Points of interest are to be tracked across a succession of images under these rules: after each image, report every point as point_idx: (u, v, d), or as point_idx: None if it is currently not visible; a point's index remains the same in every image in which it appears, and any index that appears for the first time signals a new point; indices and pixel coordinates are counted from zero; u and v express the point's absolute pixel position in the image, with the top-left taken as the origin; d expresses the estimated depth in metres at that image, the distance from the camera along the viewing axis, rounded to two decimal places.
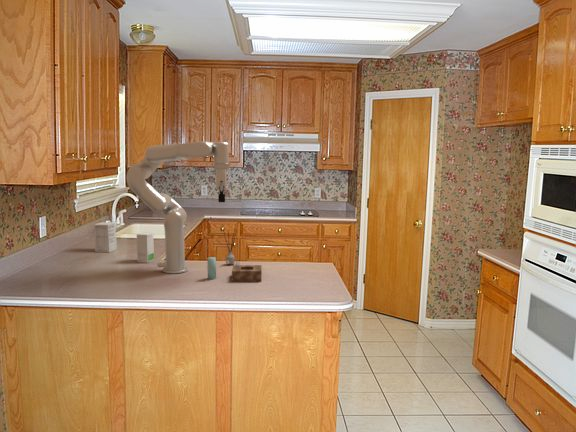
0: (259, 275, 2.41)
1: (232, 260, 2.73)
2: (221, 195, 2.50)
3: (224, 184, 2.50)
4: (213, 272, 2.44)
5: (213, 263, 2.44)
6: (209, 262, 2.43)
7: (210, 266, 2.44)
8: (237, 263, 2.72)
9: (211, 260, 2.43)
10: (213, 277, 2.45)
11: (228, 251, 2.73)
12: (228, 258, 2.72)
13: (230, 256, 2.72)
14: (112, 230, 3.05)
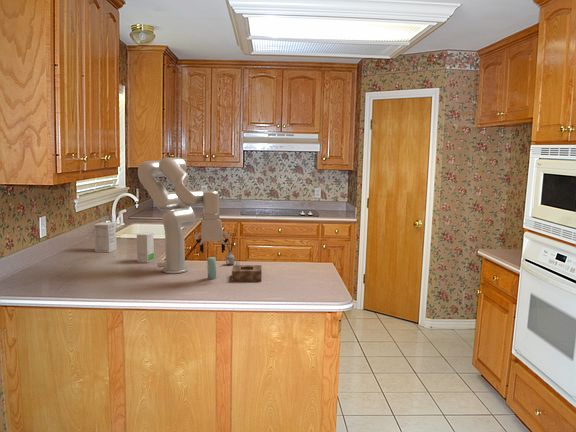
0: (259, 275, 2.41)
1: (232, 260, 2.73)
2: (224, 245, 2.44)
3: None
4: (213, 272, 2.44)
5: (213, 263, 2.44)
6: (209, 262, 2.43)
7: (210, 266, 2.44)
8: (237, 263, 2.72)
9: (211, 260, 2.43)
10: (213, 277, 2.45)
11: (228, 251, 2.73)
12: (228, 258, 2.72)
13: (230, 256, 2.72)
14: (112, 230, 3.05)
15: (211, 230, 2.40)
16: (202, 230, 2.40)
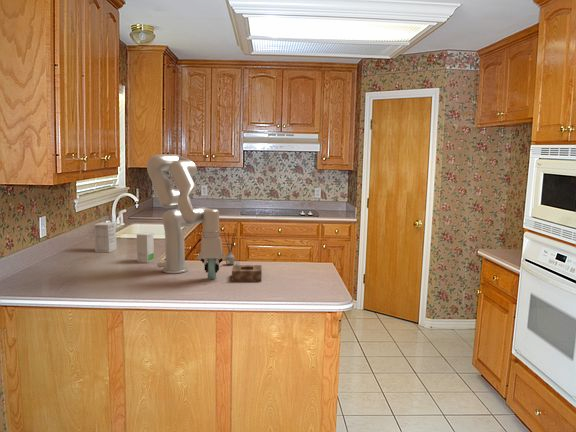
0: (259, 275, 2.41)
1: (232, 260, 2.73)
2: (218, 265, 2.45)
3: None
4: (213, 272, 2.44)
5: (213, 263, 2.44)
6: (209, 262, 2.43)
7: (210, 266, 2.44)
8: (237, 263, 2.72)
9: (211, 260, 2.43)
10: (213, 277, 2.45)
11: (228, 251, 2.73)
12: (228, 258, 2.72)
13: (230, 256, 2.72)
14: (112, 230, 3.05)
15: (211, 248, 2.41)
16: (202, 248, 2.41)
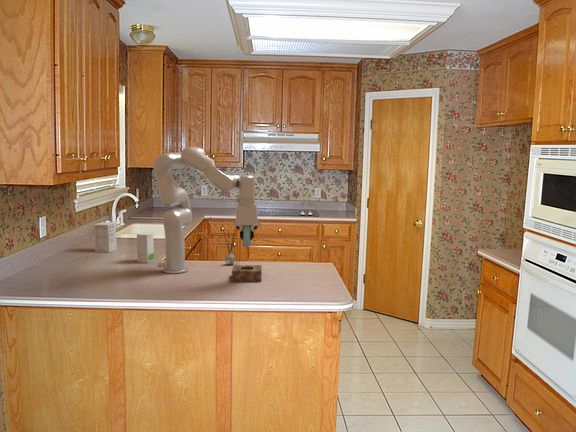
0: (259, 275, 2.41)
1: (232, 260, 2.73)
2: (253, 232, 2.44)
3: None
4: (248, 239, 2.43)
5: (248, 230, 2.42)
6: (244, 229, 2.42)
7: (245, 233, 2.42)
8: (237, 263, 2.72)
9: (246, 227, 2.42)
10: (248, 244, 2.43)
11: (228, 251, 2.73)
12: (228, 258, 2.72)
13: (230, 256, 2.72)
14: (112, 230, 3.05)
15: (246, 214, 2.40)
16: (237, 214, 2.40)
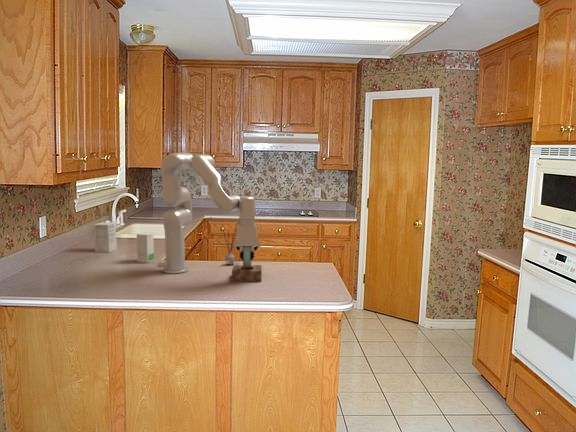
0: (259, 275, 2.41)
1: (232, 260, 2.73)
2: (253, 252, 2.45)
3: None
4: (248, 260, 2.44)
5: (249, 251, 2.44)
6: (245, 250, 2.43)
7: (246, 254, 2.44)
8: (237, 263, 2.72)
9: (247, 248, 2.43)
10: (248, 265, 2.44)
11: (228, 251, 2.73)
12: (228, 258, 2.72)
13: (230, 256, 2.72)
14: (112, 230, 3.05)
15: (246, 235, 2.41)
16: (237, 235, 2.42)
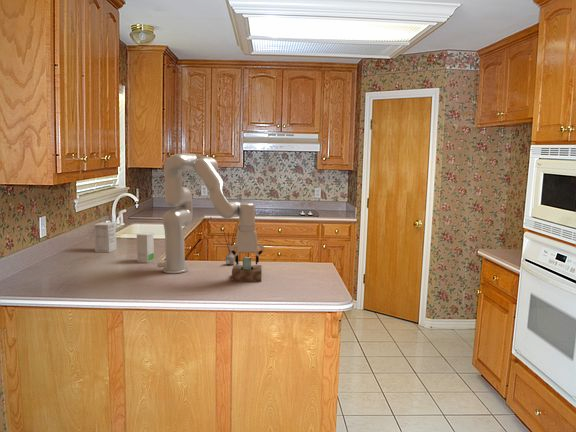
0: (259, 275, 2.41)
1: (232, 260, 2.73)
2: (258, 257, 2.46)
3: None
4: None
5: (248, 263, 2.44)
6: (244, 262, 2.44)
7: (245, 266, 2.44)
8: None
9: (246, 260, 2.44)
10: None
11: (228, 251, 2.73)
12: (228, 258, 2.72)
13: (230, 256, 2.72)
14: (112, 230, 3.05)
15: (246, 242, 2.42)
16: (238, 241, 2.42)
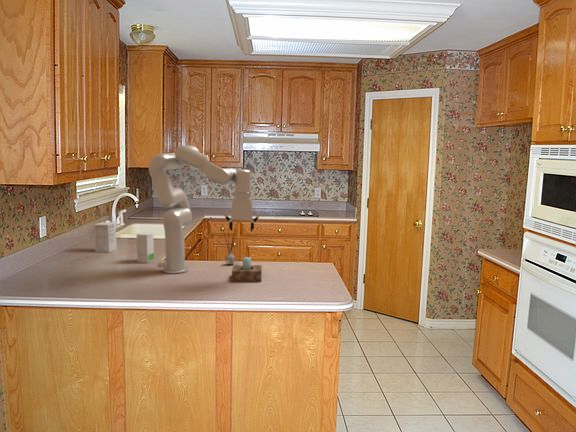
0: (259, 275, 2.41)
1: (232, 260, 2.73)
2: (253, 224, 2.45)
3: None
4: None
5: (248, 263, 2.44)
6: (244, 262, 2.44)
7: (245, 266, 2.44)
8: (237, 263, 2.72)
9: (246, 260, 2.44)
10: None
11: (228, 251, 2.73)
12: (228, 258, 2.72)
13: (230, 256, 2.72)
14: (112, 230, 3.05)
15: (241, 208, 2.41)
16: (232, 208, 2.41)
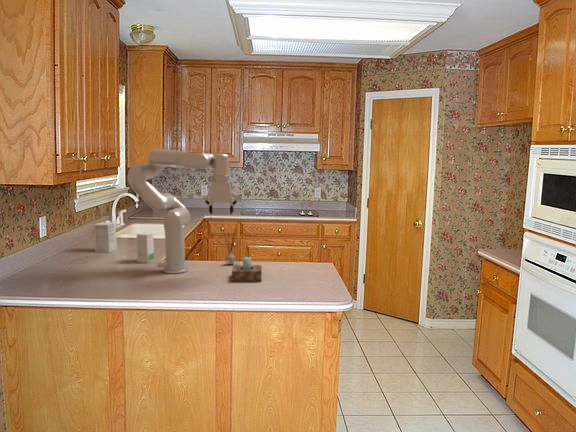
0: (259, 275, 2.41)
1: (232, 260, 2.73)
2: None
3: None
4: None
5: (248, 263, 2.44)
6: (244, 262, 2.44)
7: (245, 266, 2.44)
8: (237, 263, 2.72)
9: (246, 260, 2.44)
10: None
11: (228, 251, 2.73)
12: (228, 258, 2.72)
13: (230, 256, 2.72)
14: (112, 230, 3.05)
15: (220, 192, 2.47)
16: (211, 191, 2.47)
